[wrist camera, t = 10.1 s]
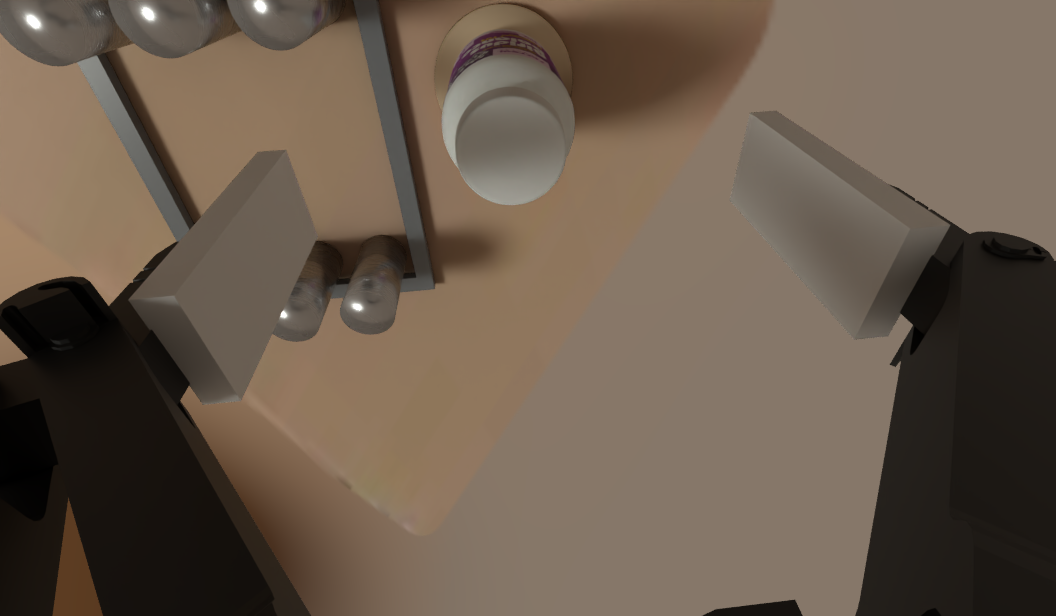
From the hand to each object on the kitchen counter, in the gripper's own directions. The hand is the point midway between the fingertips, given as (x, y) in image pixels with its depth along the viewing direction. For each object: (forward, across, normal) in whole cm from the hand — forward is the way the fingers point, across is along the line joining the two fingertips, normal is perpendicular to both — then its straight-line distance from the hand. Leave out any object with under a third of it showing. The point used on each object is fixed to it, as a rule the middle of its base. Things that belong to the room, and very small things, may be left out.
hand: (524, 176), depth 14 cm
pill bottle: (+13, 0, -1) cm, 13 cm away
